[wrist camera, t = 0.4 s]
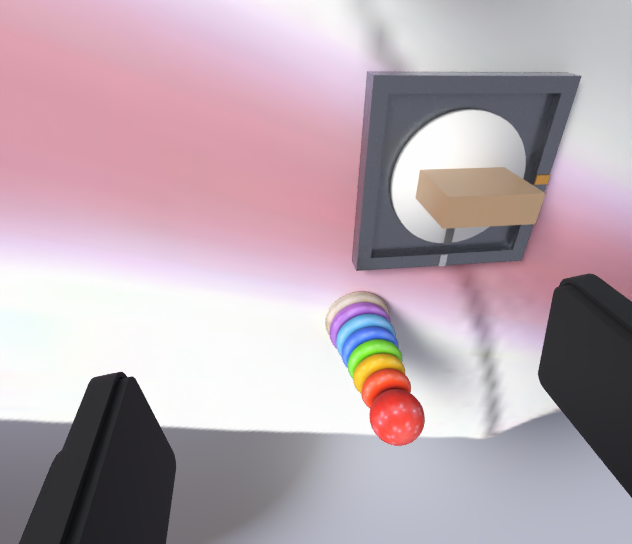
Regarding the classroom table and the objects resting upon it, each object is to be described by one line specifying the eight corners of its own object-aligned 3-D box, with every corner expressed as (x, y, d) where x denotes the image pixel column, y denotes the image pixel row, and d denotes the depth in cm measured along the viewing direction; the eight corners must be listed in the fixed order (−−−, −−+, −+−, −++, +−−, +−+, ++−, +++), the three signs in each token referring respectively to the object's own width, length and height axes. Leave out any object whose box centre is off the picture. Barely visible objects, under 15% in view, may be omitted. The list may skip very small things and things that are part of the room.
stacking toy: (388, 330, 57) (446, 457, 41) (329, 344, 56) (365, 478, 41) (382, 281, 52) (445, 403, 37) (318, 297, 52) (354, 426, 36)
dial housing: (367, 71, 39) (374, 75, 37) (566, 72, 42) (582, 76, 40) (351, 260, 50) (356, 271, 48) (511, 251, 53) (522, 261, 51)
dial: (399, 109, 40) (432, 131, 33) (537, 108, 42) (594, 129, 35) (383, 242, 47) (407, 282, 41) (500, 235, 49) (542, 273, 43)
